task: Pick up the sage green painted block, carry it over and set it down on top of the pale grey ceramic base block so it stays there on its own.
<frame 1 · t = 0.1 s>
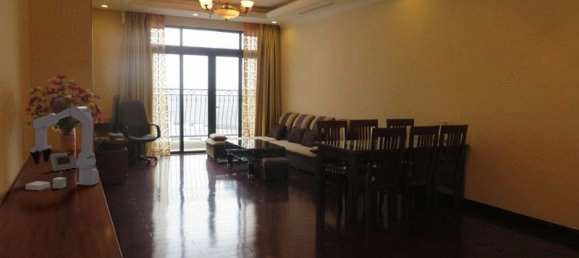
hand: (41, 162, 245), 10 cm above the sideboard, tool pointing down, fingers open, 7 cm apart
digital clock: (64, 169, 276), on the sideboard
green block: (59, 187, 232), on the sideboard
grey base: (38, 188, 228), on the sideboard
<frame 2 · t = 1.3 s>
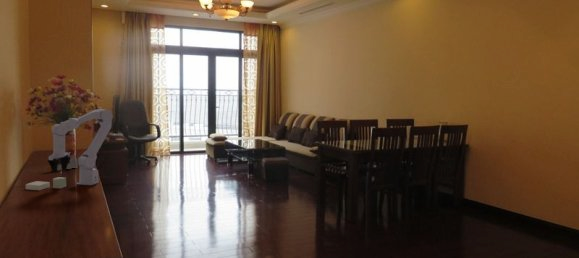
hand: (59, 171, 231), 9 cm above the sideboard, tool pointing down, fingers open, 7 cm apart
nothing on the sideboard moved.
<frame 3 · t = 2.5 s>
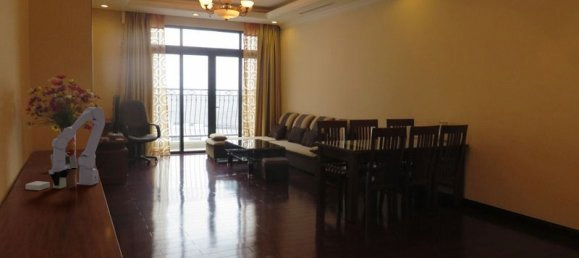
hand: (59, 184, 231), 1 cm above the sideboard, tool pointing down, fingers closed on green block, 4 cm apart
green block: (59, 187, 232), on the sideboard, touching gripper
everything else where it was.
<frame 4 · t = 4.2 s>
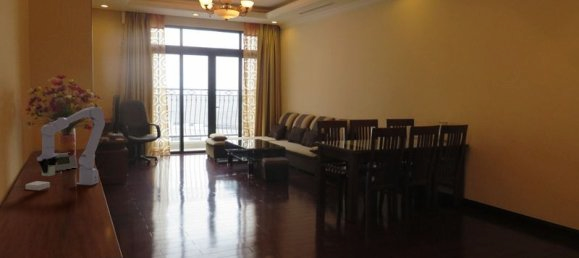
hand: (48, 172, 229), 9 cm above the sideboard, tool pointing down, fingers closed on green block, 4 cm apart
green block: (48, 175, 229), point 7 cm above the sideboard, touching gripper
everything else where it was.
when the fingers open (5 cm above the sideboard, at t = 5.7 s): green block drops 1 cm, resting on grey base.
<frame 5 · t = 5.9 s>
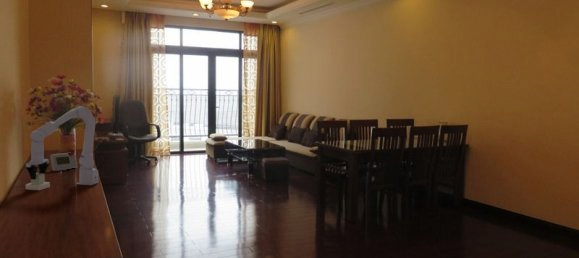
hand: (37, 178, 227), 5 cm above the sideboard, tool pointing down, fingers open, 6 cm apart
green block: (38, 183, 227), point 3 cm above the sideboard, touching grey base
grey base: (38, 188, 228), on the sideboard, touching green block
everything else where it was.
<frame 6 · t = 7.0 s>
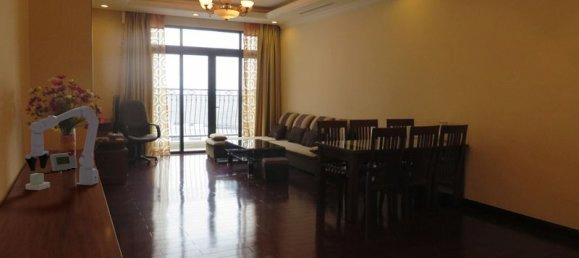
hand: (37, 169, 227), 10 cm above the sideboard, tool pointing down, fingers open, 7 cm apart
green block: (37, 183, 227), point 3 cm above the sideboard
grey base: (38, 188, 228), on the sideboard
everything else where it was.
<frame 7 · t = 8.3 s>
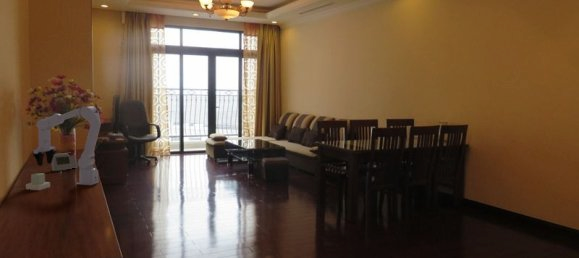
hand: (44, 164, 239), 10 cm above the sideboard, tool pointing down, fingers open, 7 cm apart
green block: (38, 183, 228), point 3 cm above the sideboard, touching grey base
grey base: (38, 188, 228), on the sideboard, touching green block
everything else where it was.
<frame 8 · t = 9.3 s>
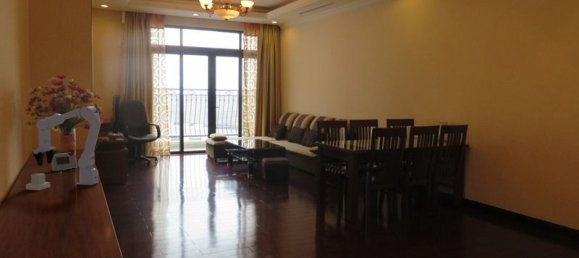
hand: (44, 164, 239), 10 cm above the sideboard, tool pointing down, fingers open, 7 cm apart
nothing on the sideboard moved.
at the end: green block 0.2 cm off-centre on the grey base, point 3.0 cm above the grey base's base; green block tilted 0°; the gripper is holding nothing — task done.
